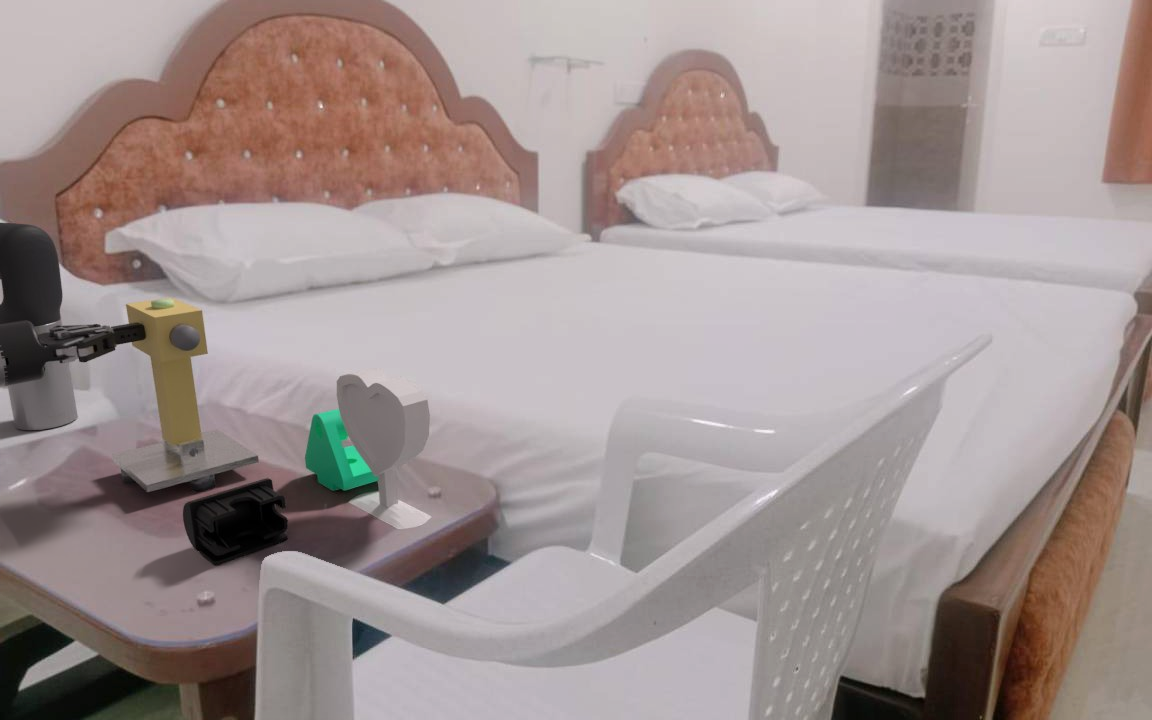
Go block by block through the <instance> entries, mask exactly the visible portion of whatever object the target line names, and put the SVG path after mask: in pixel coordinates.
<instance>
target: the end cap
mask: <svg viewBox="0 0 1152 720" xmlns="http://www.w3.org/2000/svg"><path fill="white" fill-rule="evenodd" d="M286 505H287V502H286V498H285V497H284V495H282V494H280V493H278V492H277V491H275V489H274V485H273V479H272V478H268V477H267V478H262V479H259V480H256V481H253V482H252V481H251V482H249V483H246V484H242V485H239V486H236V487H233V488H229V489H227V490H223V491H220V492H219V491H218V492H216V493H213V494H208V495H206V496H203V497H200V498H196V499H194V500H190V501H187V502H186V503H185V504H184V506H183V510H182V520H183V526H184V530H185V533H186V535H187V538H188V540H189V543H190V544H191V546H192V547H193V549H194V550H195V551H196V552H199V554H200V555H201V556H202V557H203V558H204V559H205V560H207V561H208V562H209V563H210V564H211V565H212V566H216V567H218V566H222V565H224V564H227V563H230V562H233V561H235V560H238V559H241V558H244V557H247V556H249V555H252V554H256V553H258V552H261V551H263V550H266V549H269V548H273V547H274V546H277V545H278V546H279V545H281V544H282V543H286V542H287V541H288V534H287V533H286V532H287V531H288V528H289V526H288V525H289V524H288V522H289V520H288V518H287V517H286V516H285V515H283V514H282V513H280V512H278V510H277V508H276V506H277V507H279V508H281V509H282V510H283V509H287V507H286Z"/></svg>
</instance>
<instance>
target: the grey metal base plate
mask: <svg viewBox="0 0 1152 720" xmlns="http://www.w3.org/2000/svg"><path fill="white" fill-rule="evenodd" d="M161 434H162V430H161ZM201 436H202V439H201V438H198V439H194V440H190V441H186V442H182V443H179V444H178V445H174V446H172V445H171V444H170V443H168V442H167V441H166V440H164V439H163V436H162V435H161V438H162V442H159V443H155V444H151V445H147V446H146V445H145V446H142V447H138V448H134V449H130V450H124V451H121V452H117V453H113V454H111V456H112V462H114V463H115V464H116V465H117V466H118V467H119V468H120V473H121V480H122V483H123V484H127V485H128V484H129V485H130V484H133V485H134V484H138V486H140V487H141V488H142V489H144V490H145V491H146V493H150V492H153V491H157V490H161V489H165V488H168V487H172V486H176V485H179V484H183V483H187V482H189V487H190V490H191V491H192V492H196V493H199V492H206V491H209V490H213V488H215V487H216V479H215V475H216V474H219V473H224V472H227V471H231V470H235V469H238V468H242V467H245V466H250V465H253V464H257V463H259V455H258V454H257V453H254V452H253V450H250V449H249V448H247V447H245V446H244V445H243V444H241V443H240V442H238V441H236V440H235V439H233V438H232V437H230V436H228V435H227V434H225V432H222V431H221V430H219V429H218V428H217V429H211V430H208V431H205V432H201Z"/></svg>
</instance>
